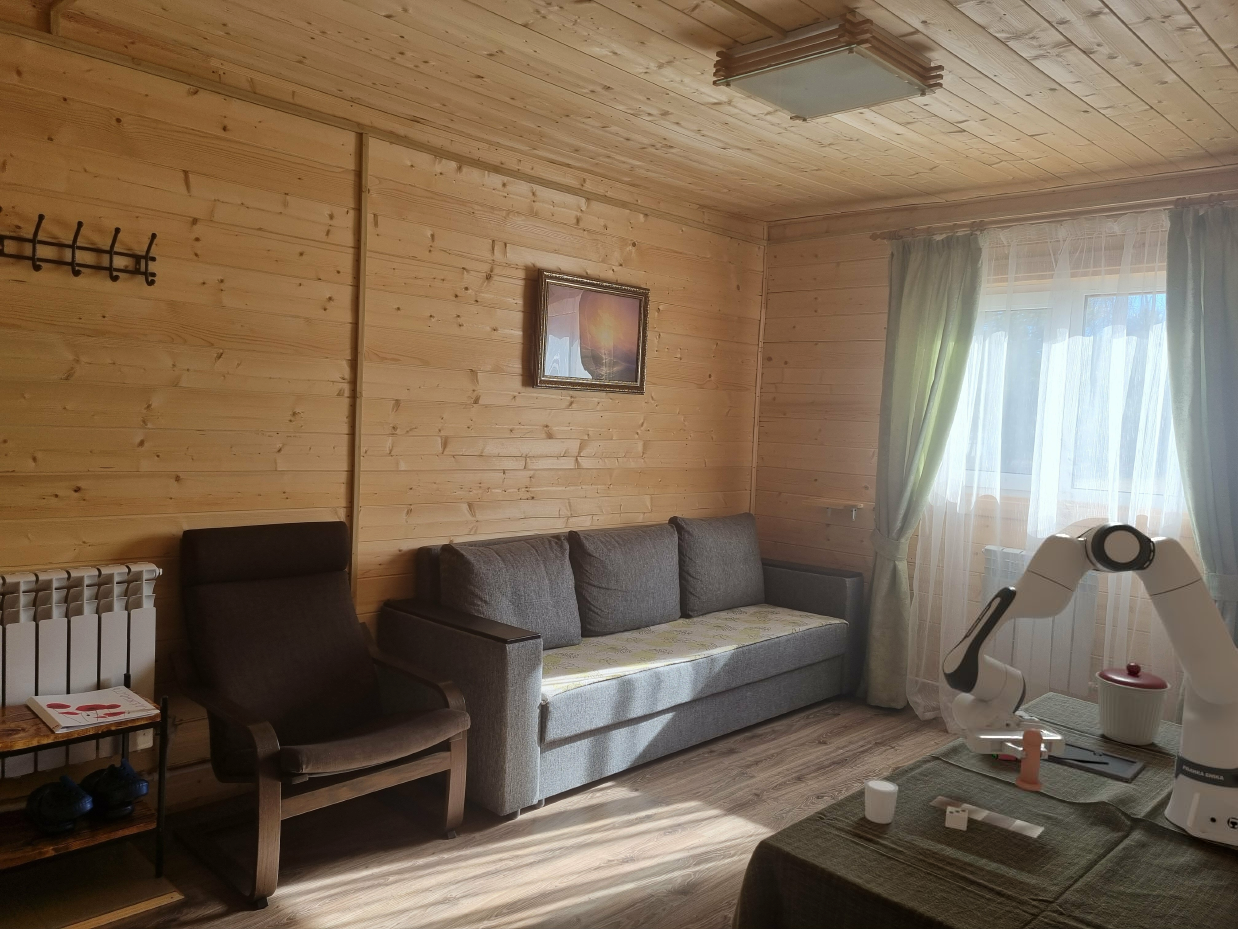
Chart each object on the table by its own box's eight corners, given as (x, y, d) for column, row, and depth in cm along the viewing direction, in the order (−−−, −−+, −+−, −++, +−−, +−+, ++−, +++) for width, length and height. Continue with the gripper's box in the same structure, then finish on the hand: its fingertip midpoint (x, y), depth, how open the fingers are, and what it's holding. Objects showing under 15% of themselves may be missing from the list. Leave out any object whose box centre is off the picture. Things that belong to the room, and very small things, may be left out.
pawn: (1044, 786, 193) (1049, 729, 193) (1037, 793, 190) (1043, 735, 189) (1019, 779, 197) (1024, 723, 196) (1012, 785, 193) (1017, 728, 192)
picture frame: (1037, 759, 240) (1128, 784, 226) (1038, 751, 239) (1129, 776, 226) (1057, 744, 252) (1145, 768, 238) (1058, 737, 251) (1145, 760, 238)
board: (1047, 834, 194) (1047, 828, 194) (1037, 845, 189) (1038, 839, 189) (937, 800, 209) (937, 794, 209) (925, 809, 203) (925, 803, 203)
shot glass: (858, 819, 196) (861, 786, 196) (866, 807, 202) (868, 775, 202) (892, 827, 193) (894, 794, 193) (899, 815, 199) (901, 783, 199)
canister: (1166, 738, 261) (1173, 663, 260) (1163, 756, 246) (1171, 677, 244) (1093, 723, 270) (1100, 650, 269) (1086, 740, 255) (1093, 663, 254)
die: (966, 829, 195) (968, 809, 194) (965, 837, 191) (967, 817, 191) (946, 824, 196) (947, 805, 196) (944, 832, 193) (946, 812, 192)
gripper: (954, 716, 204) (986, 739, 190) (1043, 718, 206) (1081, 740, 193) (952, 744, 205) (983, 769, 191) (1041, 746, 207) (1078, 770, 193)
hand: (1033, 755), depth 192 cm, fingers closed on pawn, 3 cm apart
